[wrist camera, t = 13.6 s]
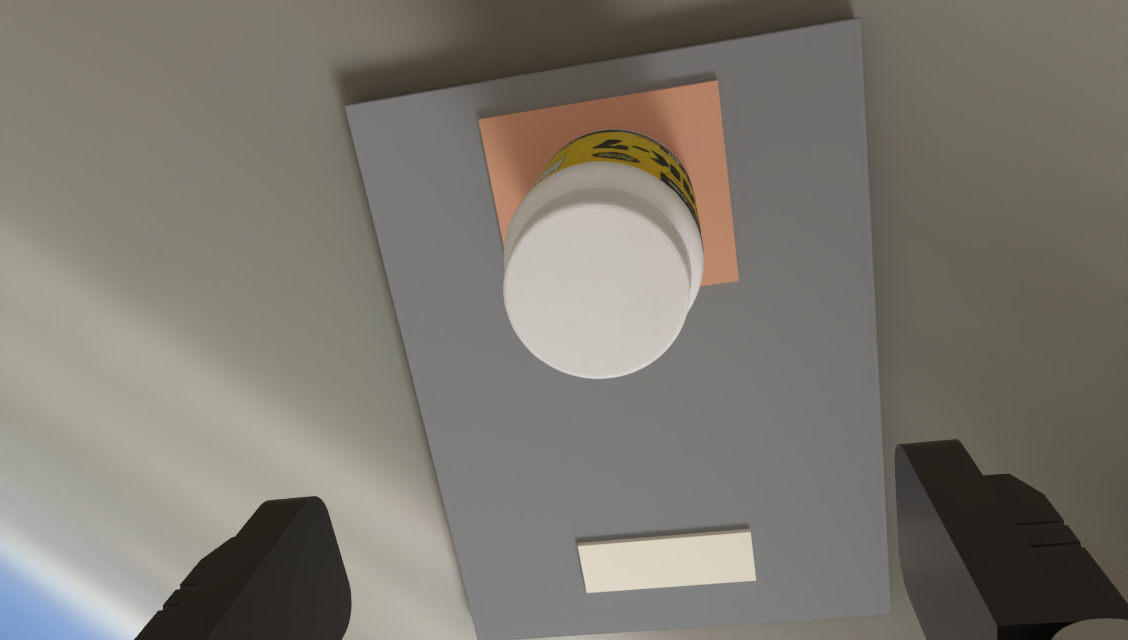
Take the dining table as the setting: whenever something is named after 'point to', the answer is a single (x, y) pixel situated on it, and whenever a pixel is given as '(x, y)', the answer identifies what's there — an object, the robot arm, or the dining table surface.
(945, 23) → the dining table surface
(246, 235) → the dining table surface
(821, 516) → the grey rectangular board
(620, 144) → the supplement bottle
